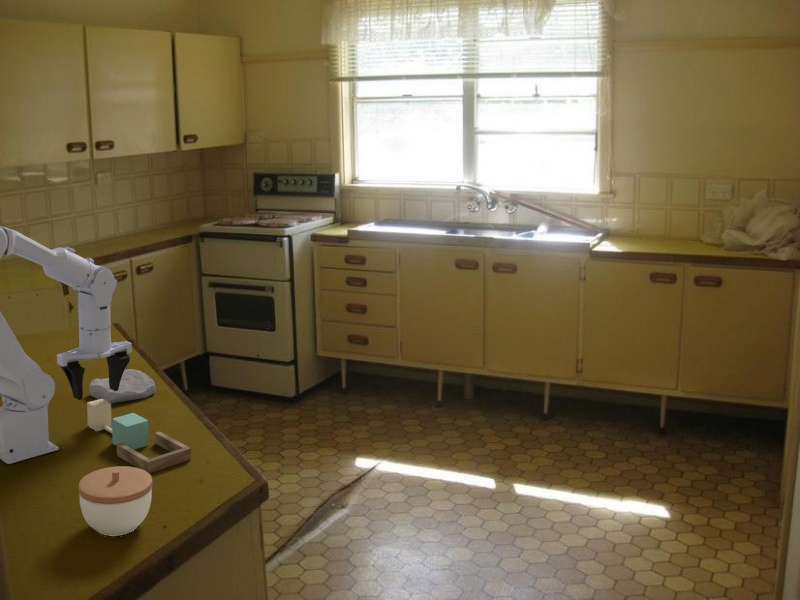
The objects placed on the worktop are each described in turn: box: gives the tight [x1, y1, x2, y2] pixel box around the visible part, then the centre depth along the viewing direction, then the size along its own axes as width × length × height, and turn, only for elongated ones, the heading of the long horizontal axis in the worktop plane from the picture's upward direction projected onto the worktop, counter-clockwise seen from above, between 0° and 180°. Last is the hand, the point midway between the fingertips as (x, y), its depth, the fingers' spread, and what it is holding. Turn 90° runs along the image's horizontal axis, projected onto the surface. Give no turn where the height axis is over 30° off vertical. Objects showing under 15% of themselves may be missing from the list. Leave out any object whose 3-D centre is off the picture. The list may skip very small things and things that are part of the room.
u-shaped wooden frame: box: [116, 431, 192, 474], centre depth 158 cm, size 10×9×2 cm
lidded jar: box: [77, 465, 153, 536], centre depth 133 cm, size 11×11×9 cm
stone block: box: [88, 368, 157, 404], centre depth 187 cm, size 12×5×10 cm
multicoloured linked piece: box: [86, 399, 150, 451], centre depth 165 cm, size 15×4×5 cm, turn 49°
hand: (96, 393), depth 169 cm, fingers open, 7 cm apart
